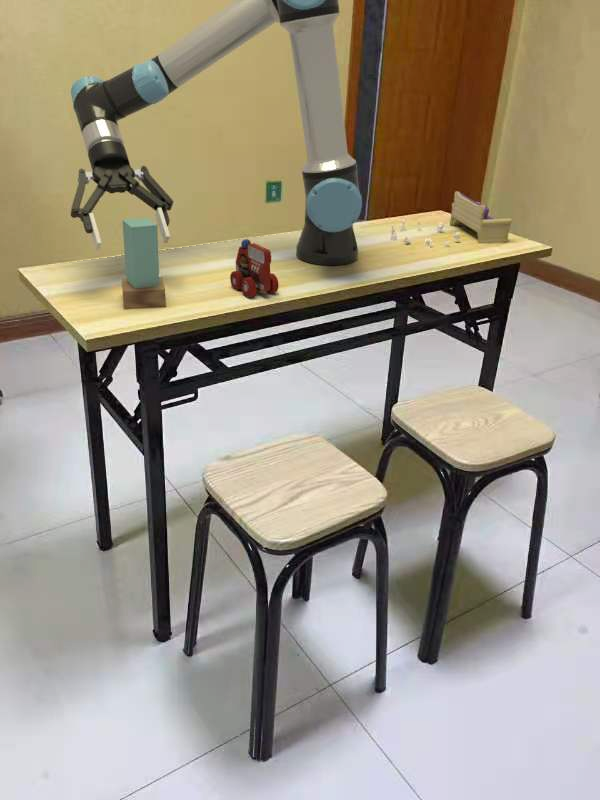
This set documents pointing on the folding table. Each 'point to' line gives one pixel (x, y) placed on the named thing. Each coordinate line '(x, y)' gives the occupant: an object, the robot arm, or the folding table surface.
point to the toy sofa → (479, 220)
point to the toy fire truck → (253, 270)
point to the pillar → (141, 252)
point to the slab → (143, 296)
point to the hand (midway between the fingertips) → (133, 243)
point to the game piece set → (428, 240)
